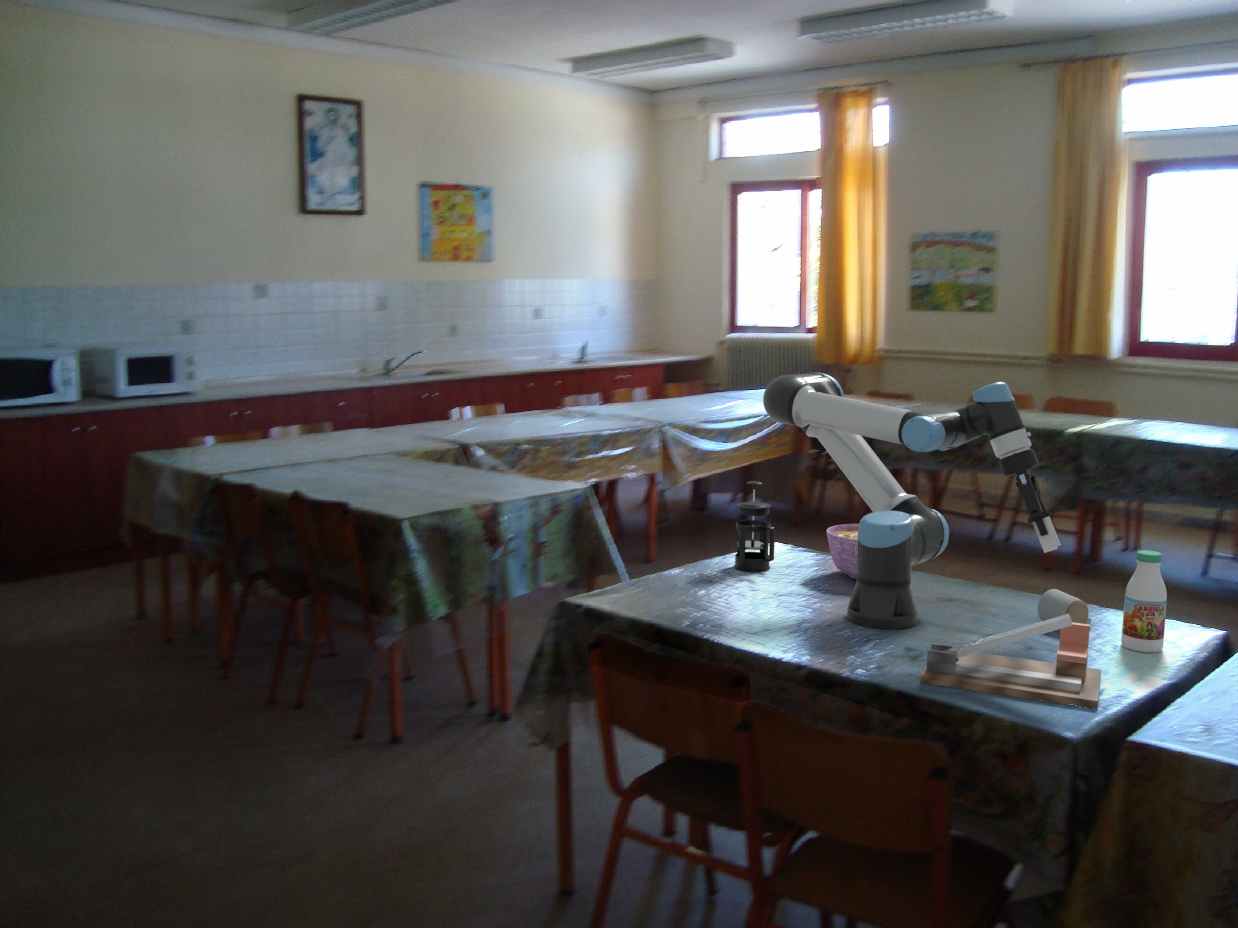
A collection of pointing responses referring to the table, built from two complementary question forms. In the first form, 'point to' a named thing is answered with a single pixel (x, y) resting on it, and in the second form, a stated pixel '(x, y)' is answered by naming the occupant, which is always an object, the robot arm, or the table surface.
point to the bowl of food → (844, 547)
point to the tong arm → (1011, 636)
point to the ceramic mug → (1062, 607)
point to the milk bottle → (1145, 605)
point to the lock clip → (1074, 643)
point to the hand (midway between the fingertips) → (1052, 549)
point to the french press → (753, 559)
